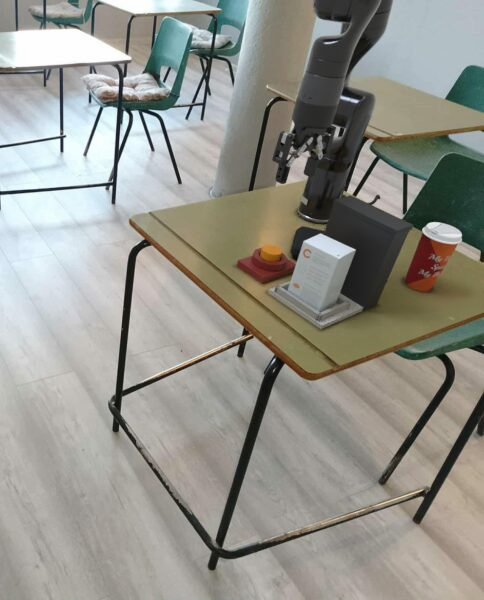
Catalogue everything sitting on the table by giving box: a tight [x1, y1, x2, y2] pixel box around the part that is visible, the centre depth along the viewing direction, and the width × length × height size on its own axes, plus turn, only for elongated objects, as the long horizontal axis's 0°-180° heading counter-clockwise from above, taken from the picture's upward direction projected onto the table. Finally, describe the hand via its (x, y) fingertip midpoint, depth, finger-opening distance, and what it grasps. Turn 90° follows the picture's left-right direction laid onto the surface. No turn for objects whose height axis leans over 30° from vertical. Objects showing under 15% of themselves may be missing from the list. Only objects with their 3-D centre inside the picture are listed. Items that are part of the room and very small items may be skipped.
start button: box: [260, 244, 283, 262], centre depth 126 cm, size 4×4×2 cm
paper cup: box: [404, 221, 463, 293], centre depth 123 cm, size 8×8×14 cm
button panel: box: [236, 247, 296, 285], centre depth 128 cm, size 11×8×4 cm
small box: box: [288, 233, 356, 312], centre depth 114 cm, size 8×6×13 cm
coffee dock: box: [267, 195, 414, 330], centre depth 115 cm, size 18×14×19 cm
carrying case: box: [289, 225, 325, 260], centre depth 136 cm, size 11×3×15 cm
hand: (294, 179), depth 116 cm, fingers open, 8 cm apart
